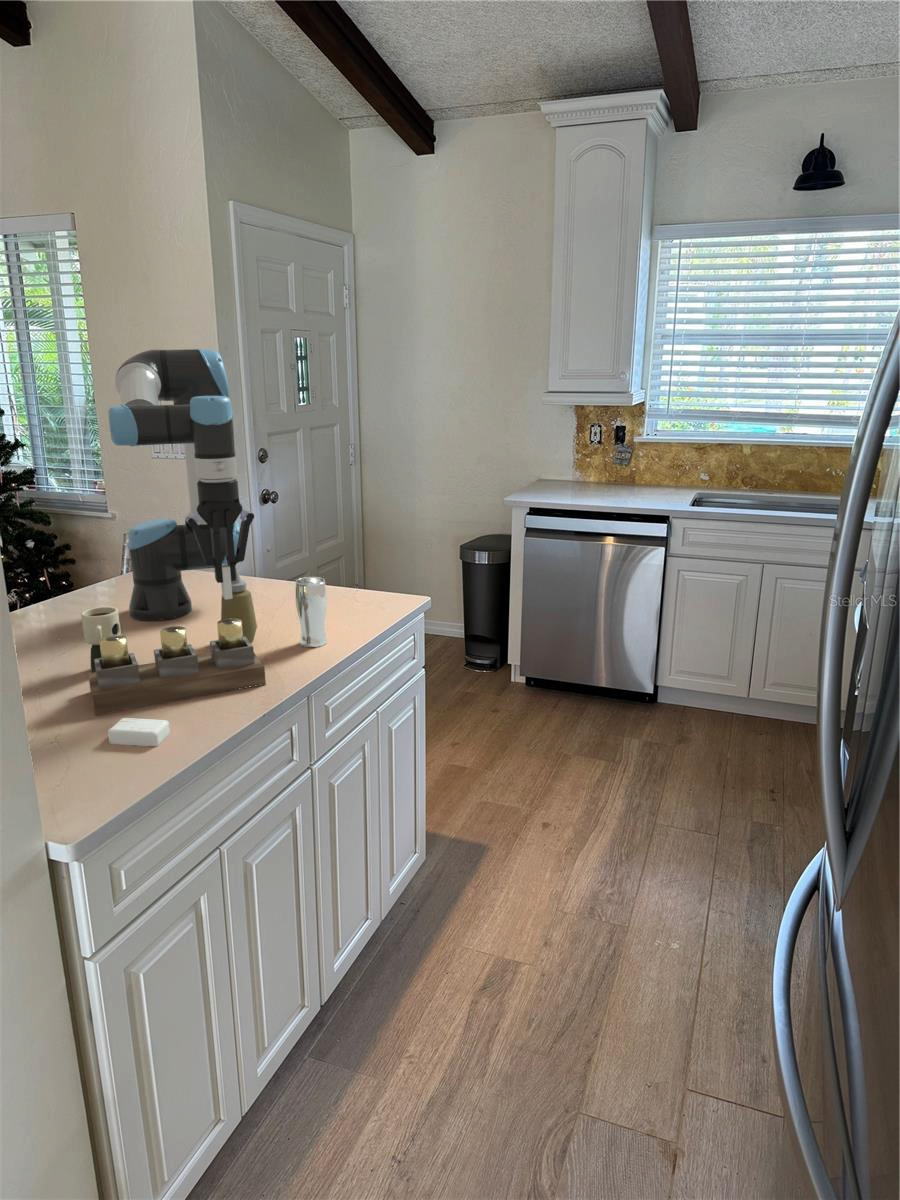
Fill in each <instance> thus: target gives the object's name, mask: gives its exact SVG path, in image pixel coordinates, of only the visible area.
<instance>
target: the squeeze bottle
mask: <svg viewBox="0 0 900 1200" xmlns="http://www.w3.org/2000/svg"><path fill="white" fill-rule="evenodd" d="M235 570H236V580H235V581H231V585H232V597H233V599H226V600H225V599H224V598H223V596H222V595H221V607H220V608H221V609H220V610H221V611H220V612H221V613H220V615H221V616H220V618H221V619H220V620H223V619H229V618H236V619H240V620H241V621H242V631H243V636H245V637H246V638H247V639H248V641H249V642H250V643H251V644H253V642H254V640H255V637H256V632H257V629H258V623H257V618H256V614H255V608H254V601H253V596H252V592H251V591H250V590H248V589H247V582H246V581H245V580H242V579H241V575H240V573H239V570H238V567H237V566H235Z"/></svg>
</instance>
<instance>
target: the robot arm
mask: <svg viewBox="0 0 900 1200" xmlns="http://www.w3.org/2000/svg"><path fill="white" fill-rule="evenodd" d="M115 387H116V391H117V393H118V394H119V396H120V405H116V406H111V407H109V409H108V425H109V431H110V437H111V442H112V443H113V444H114V445H115V446H120V447H121V446H124V447H125V446H129V447H136V446H153V445H154V446H155V445H159V446H160V445H179V444H181V445H182V444H183V445H184V446H183V447H184V457H185V465H186V467H185V468H186V478H187V479H186V480H187V488H188V498H189V499H188V500H189V509H190V510H189V512H188V513H187V514H186V515H185V517H184V522H185V524H178V523H177V522H176V521H177V520H176V519H173V518H172V519H171V518H166V519H165V518H163V519H155V520H149V521H146V522H142V523H139V524H137V525H134V526H133V527H132V528H131V529H130V530H129V531H128V546H127V547H128V549H129V553H130V554H129V555H130V561H131V573H132V581H133V588H132V593H131V597H130V600H129V606H128V608H129V609H128V610H129V615H130V617H131V618H132V617H133V619H135V620H138V621H146V622H147V621H149V622H150V621H151V622H152V621H155V620H156V621H165V620H171V619H175V618H179V617H182V616H186V615H187V614H189V613H190V612H191V611H192V610H193V606H192V600H191V597H190V595H189V593H188V591H187V589H186V587H185V584H184V582H183V579H182V572H183V571H195V570H197V571H198V570H207V569H214V577H215V578H214V579H215V582H217V584H220V585H221V597H222V596H223V598H224V599H225V600H226V599H233V597H232V585H231V581H235V580H236V570H235V567H237V566H236V565H237V564H239V563H242V562H244V560H245V557H246V553H247V552H246V550H247V546H248V545H247V544H248V538H249V533H250V527H251V524H252V522H253V520H254V519H255V514H254V513H253V512H251V511H249V510H246V509H245V508H243V505H242V503H241V501H240V495H239V483H238V480H237V479H236V477H237V476H238V471H237V469H238V468H237V460H236V458H237V457H236V451H235V435H234V431H235V430H234V420H233V419H234V412H233V410H232V409H233V408H232V402H231V399H230V397H231V396H230V391H229V390H230V389H229V383H228V379H227V374H226V368H225V364H224V362H223V359H222V355H221V354H220V353H219V352H218V351H217V350H213V349H203V348H190V349H189V348H188V349H183V348H182V349H149V350H145V351H141V352H139V353H137V354H134V355H133V356H130V358H128V359H127V360H125V361H123V363H122V364H121V365H120V366H119V367H118V369H117V372H116V374H115ZM159 402H173V404H159ZM239 516H240V517H239ZM238 518H240V520H241V521H240V524H239V522H238V521H237V519H238Z"/></svg>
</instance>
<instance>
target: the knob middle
mask: <svg viewBox="0 0 900 1200" xmlns="http://www.w3.org/2000/svg"><path fill="white" fill-rule="evenodd" d="M186 629H187V628H186V627H183V626H180V625H179V626H178V625H177V626H176V625H175V626H168V627H163V628H161V629H160V631H159V637H160V644H161V649H162V654H163V657H164V658H169V659H170V658H177V657H183V656H186V655H187V654H188V647H187V645H188V638H187V630H186Z"/></svg>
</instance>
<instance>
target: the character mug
mask: <svg viewBox="0 0 900 1200" xmlns="http://www.w3.org/2000/svg"><path fill="white" fill-rule="evenodd" d="M80 615H81V616H80V617H81V622H82V629H83V637H84V642H85V644H88V645H91V647H90V671H92V672H96V668H95V661H94V659H97V658H102V657H101V650H100V642H99V640H100V639H101V638H103V637H106V636H110V635H122V633H121V623H120V618H119V617H120V616H119V610H118V608H117V607H114V606H97V607H91V608H88V609H85V610H83V611H82V612H81V613H80Z"/></svg>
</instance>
